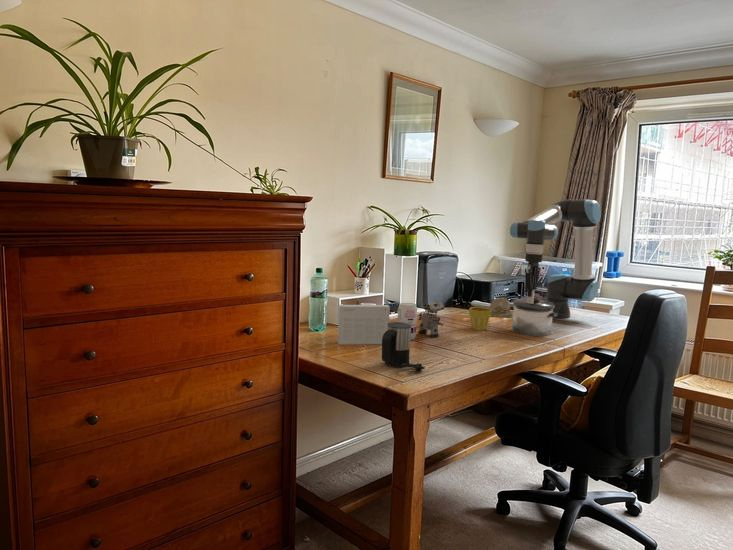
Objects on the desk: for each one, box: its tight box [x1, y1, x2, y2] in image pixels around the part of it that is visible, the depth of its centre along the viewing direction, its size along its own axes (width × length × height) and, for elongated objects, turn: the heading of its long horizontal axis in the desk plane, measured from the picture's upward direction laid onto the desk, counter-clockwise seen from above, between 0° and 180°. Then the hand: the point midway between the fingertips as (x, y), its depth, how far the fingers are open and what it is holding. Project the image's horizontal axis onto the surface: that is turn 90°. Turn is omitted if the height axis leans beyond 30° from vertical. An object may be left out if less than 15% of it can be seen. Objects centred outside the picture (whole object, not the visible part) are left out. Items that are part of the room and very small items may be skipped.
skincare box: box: [337, 304, 391, 345], centre depth 230 cm, size 21×5×16 cm, turn 100°
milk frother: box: [381, 321, 425, 372], centre depth 199 cm, size 14×16×15 cm
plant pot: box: [468, 306, 492, 331], centre depth 268 cm, size 10×10×10 cm
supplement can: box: [397, 302, 418, 341], centre depth 242 cm, size 8×8×15 cm
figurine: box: [417, 300, 445, 338], centre depth 250 cm, size 9×12×15 cm
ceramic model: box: [489, 296, 514, 319], centre depth 304 cm, size 14×11×10 cm
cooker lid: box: [512, 296, 555, 310], centre depth 265 cm, size 19×19×4 cm
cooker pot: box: [510, 305, 557, 337], centre depth 267 cm, size 20×22×12 cm
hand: (530, 303), depth 262 cm, fingers closed
